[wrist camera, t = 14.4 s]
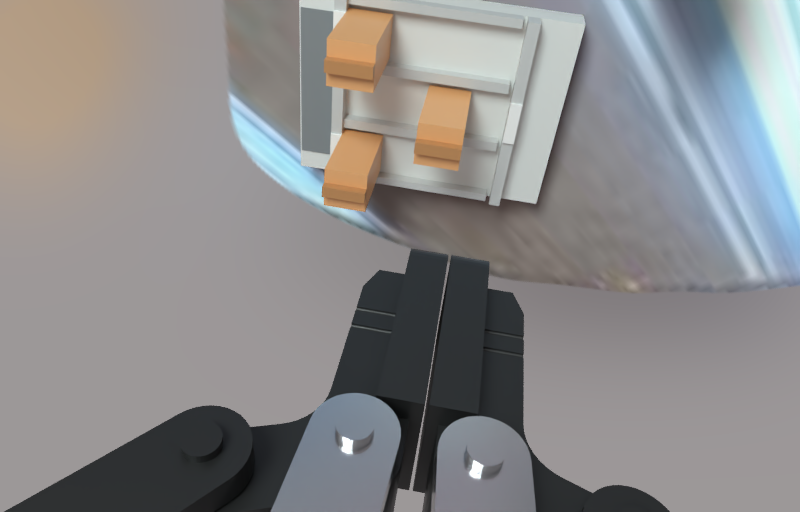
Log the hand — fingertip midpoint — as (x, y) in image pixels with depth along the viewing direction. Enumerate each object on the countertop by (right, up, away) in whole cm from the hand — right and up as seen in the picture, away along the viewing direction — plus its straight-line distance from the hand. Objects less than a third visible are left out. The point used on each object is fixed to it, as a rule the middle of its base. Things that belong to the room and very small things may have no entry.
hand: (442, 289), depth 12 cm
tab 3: (+3, +11, +33) cm, 35 cm away
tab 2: (-4, +9, +36) cm, 37 cm away
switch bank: (+2, +13, +35) cm, 37 cm away
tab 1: (-3, +16, +30) cm, 34 cm away
